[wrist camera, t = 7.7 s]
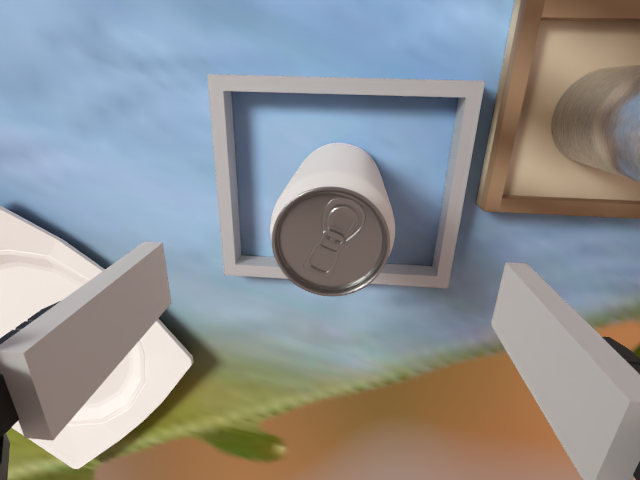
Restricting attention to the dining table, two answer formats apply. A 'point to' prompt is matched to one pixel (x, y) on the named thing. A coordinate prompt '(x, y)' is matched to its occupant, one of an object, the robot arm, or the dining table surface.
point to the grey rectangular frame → (465, 90)
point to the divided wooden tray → (540, 102)
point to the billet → (601, 121)
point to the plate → (126, 379)
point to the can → (333, 222)
